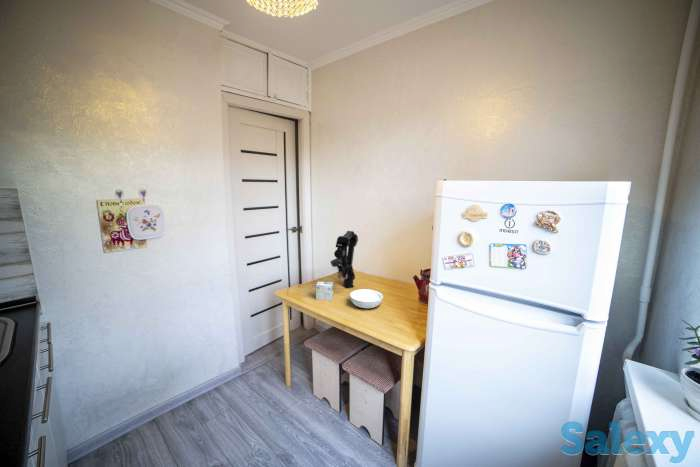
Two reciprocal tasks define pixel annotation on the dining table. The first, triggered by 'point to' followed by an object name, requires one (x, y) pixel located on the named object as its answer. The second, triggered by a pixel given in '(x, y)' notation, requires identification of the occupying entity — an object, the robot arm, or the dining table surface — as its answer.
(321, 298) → the light bulb box
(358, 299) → the serving bowl
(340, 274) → the walnut block
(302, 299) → the dining table surface
